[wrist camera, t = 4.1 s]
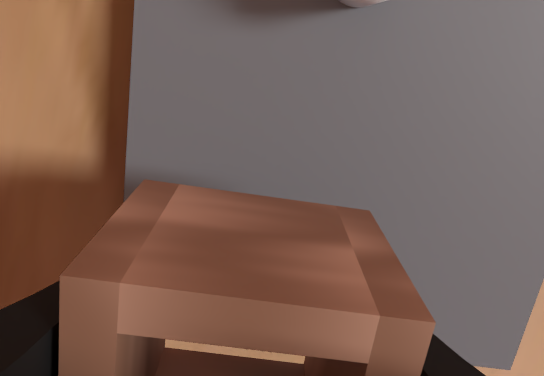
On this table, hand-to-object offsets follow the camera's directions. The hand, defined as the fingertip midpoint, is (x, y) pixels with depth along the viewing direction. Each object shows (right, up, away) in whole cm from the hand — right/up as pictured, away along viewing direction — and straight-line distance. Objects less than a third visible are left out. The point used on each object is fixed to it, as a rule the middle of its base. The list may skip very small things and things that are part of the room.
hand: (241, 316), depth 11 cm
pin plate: (+4, +6, +4) cm, 8 cm away
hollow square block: (0, 0, +1) cm, 1 cm away
